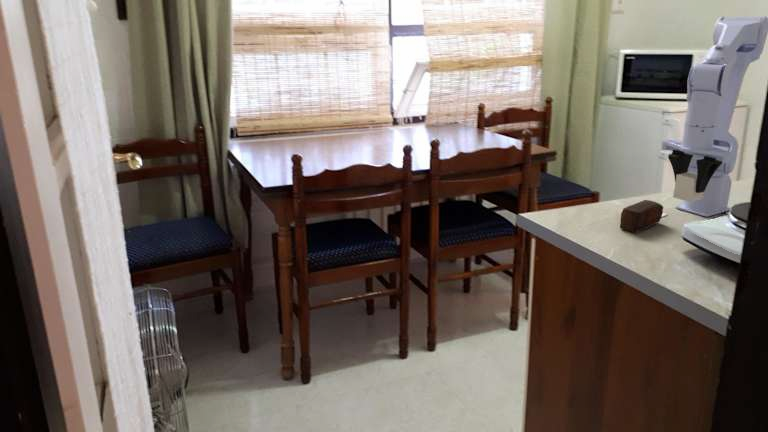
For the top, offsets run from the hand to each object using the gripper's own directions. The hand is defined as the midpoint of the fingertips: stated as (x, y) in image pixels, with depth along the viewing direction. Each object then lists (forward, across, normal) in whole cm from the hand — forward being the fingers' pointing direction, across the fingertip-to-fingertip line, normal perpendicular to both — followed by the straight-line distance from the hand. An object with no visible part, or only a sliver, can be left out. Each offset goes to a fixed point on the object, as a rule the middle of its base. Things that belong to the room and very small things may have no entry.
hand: (689, 189), depth 124 cm
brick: (+8, -5, -8) cm, 12 cm away
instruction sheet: (+8, -9, -1) cm, 12 cm away
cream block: (+2, 0, 0) cm, 2 cm away
